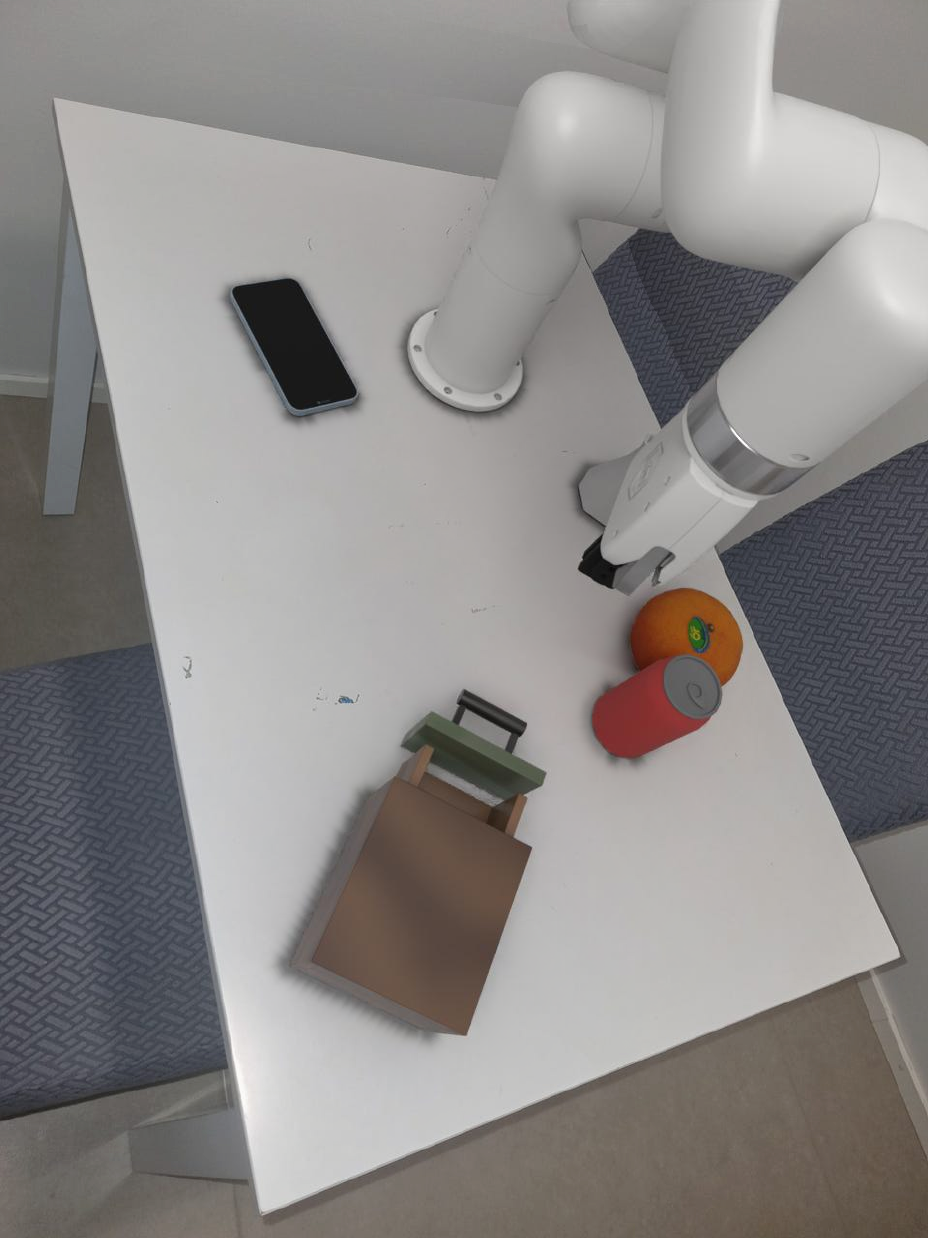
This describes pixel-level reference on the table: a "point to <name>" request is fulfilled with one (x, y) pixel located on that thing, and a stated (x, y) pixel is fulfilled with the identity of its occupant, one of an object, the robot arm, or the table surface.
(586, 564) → the robot arm
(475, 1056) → the table surface
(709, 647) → the fruit
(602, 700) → the beer can
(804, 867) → the table surface
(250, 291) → the smartphone
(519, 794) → the drawer
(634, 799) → the table surface
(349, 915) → the cabinet
